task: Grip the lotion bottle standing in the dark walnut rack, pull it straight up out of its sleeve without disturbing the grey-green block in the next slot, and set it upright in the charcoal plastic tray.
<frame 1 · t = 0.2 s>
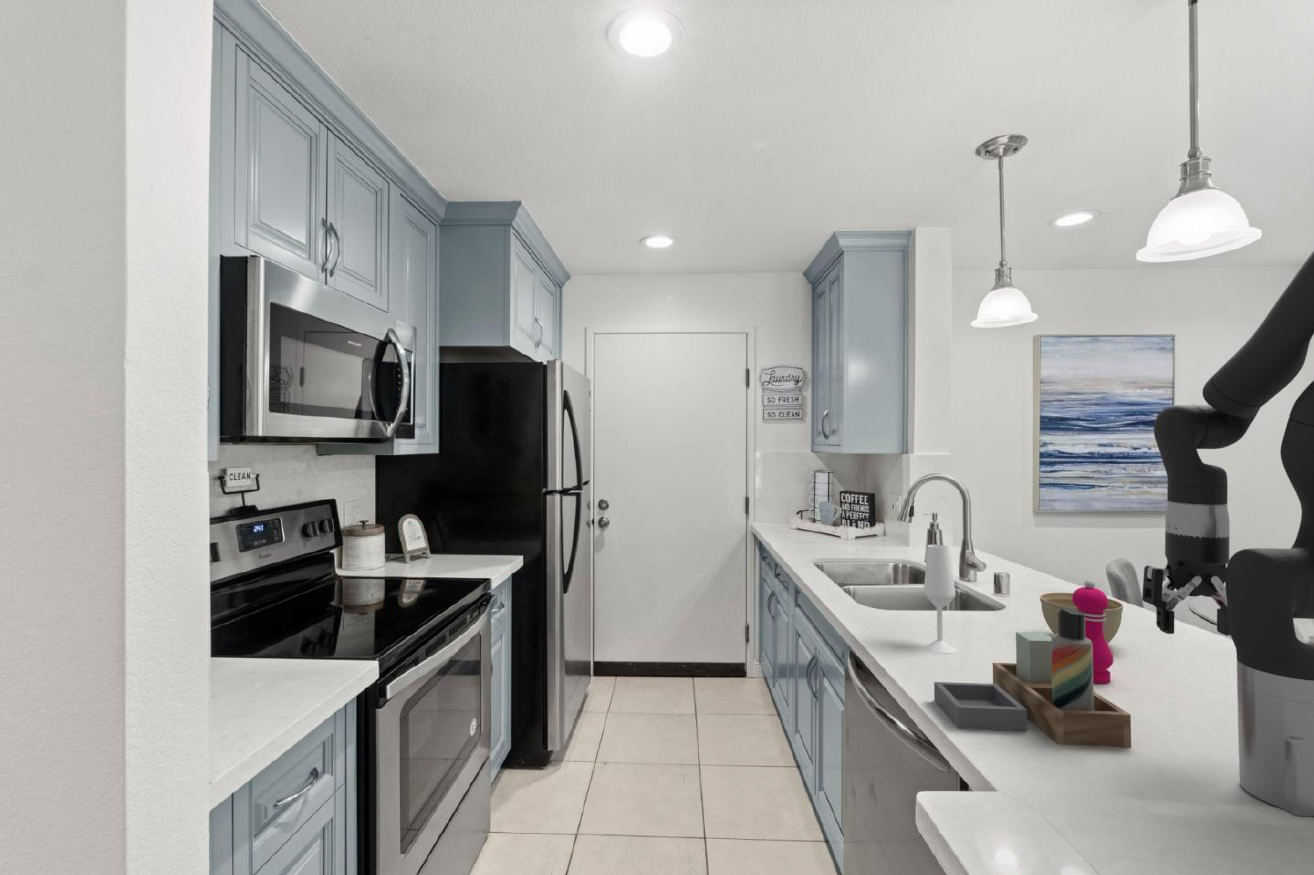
hand: (1195, 633, 94), 18 cm above the countertop, tool pointing down, fingers open, 8 cm apart
grey-green block: (1037, 701, 111), resting in rack
champagne flute: (940, 649, 140), on the countertop
rack: (1054, 714, 105), on the countertop
tray: (978, 715, 105), on the countertop
lotion bottle: (1073, 730, 100), resting in rack
planter bowl: (1080, 646, 142), on the countertop
pepper mill: (1091, 678, 122), on the countertop
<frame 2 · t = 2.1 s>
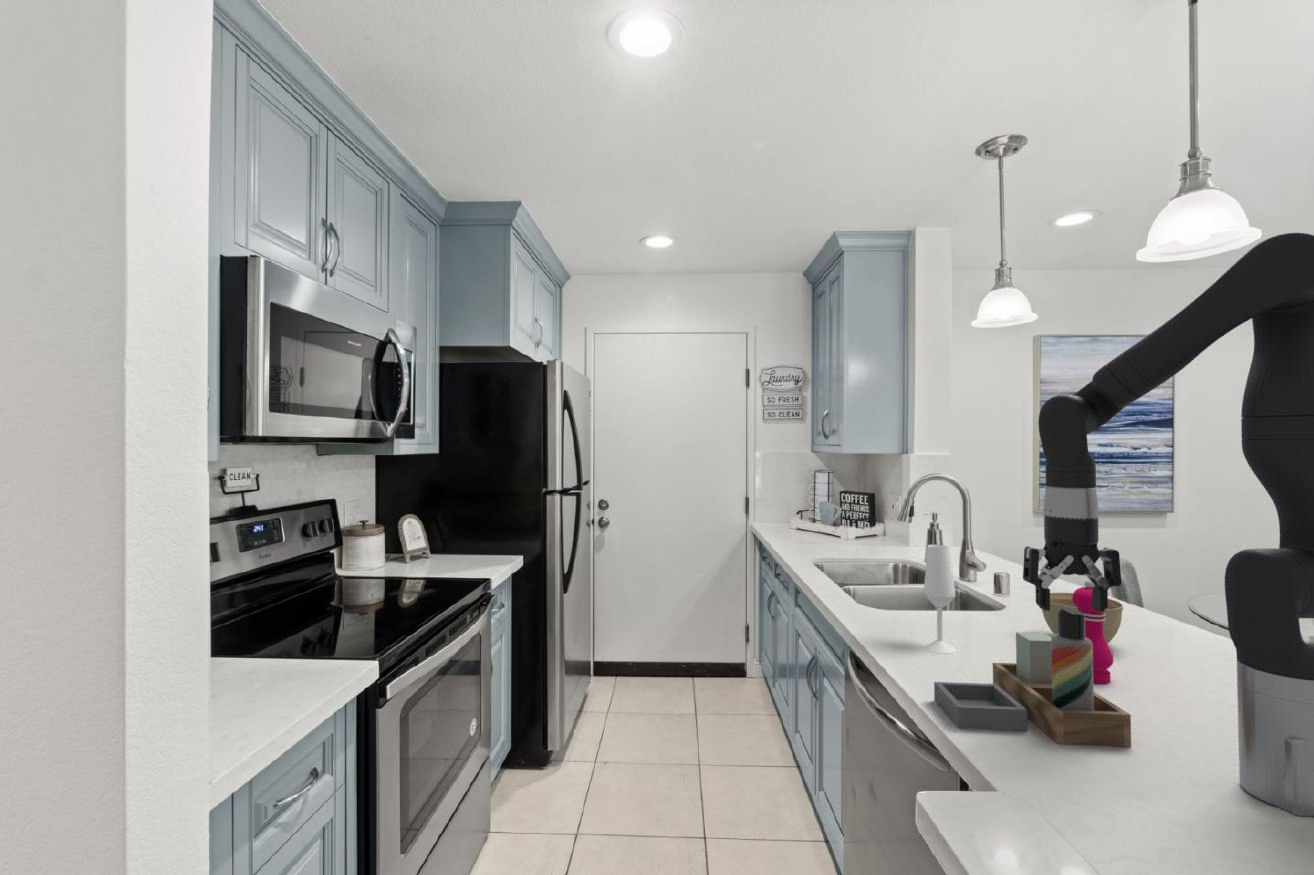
hand: (1071, 610, 100), 20 cm above the countertop, tool pointing down, fingers open, 8 cm apart
nothing on the countertop moved.
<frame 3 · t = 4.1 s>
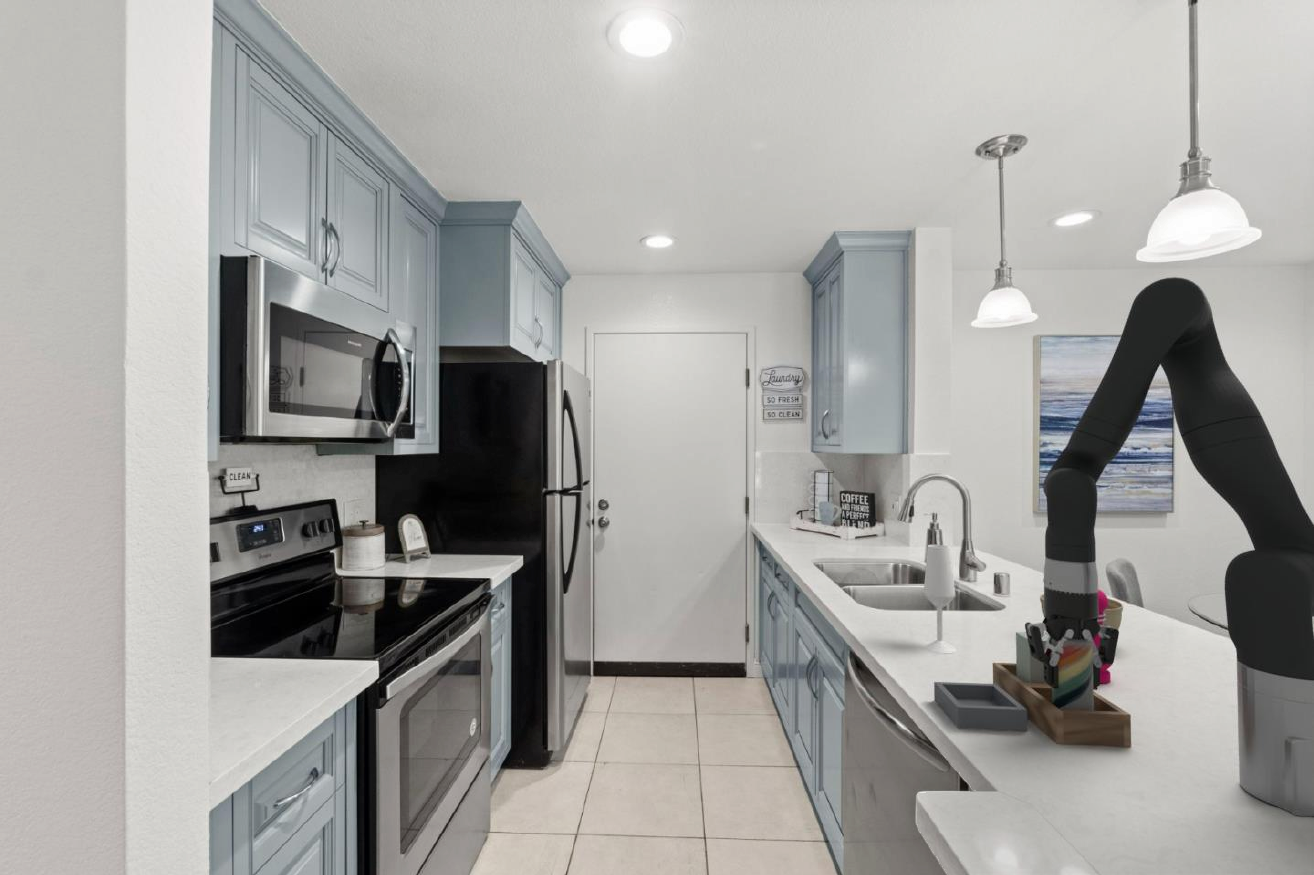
hand: (1071, 686, 100), 7 cm above the countertop, tool pointing down, fingers closed on lotion bottle, 5 cm apart
lotion bottle: (1073, 730, 100), resting in rack, touching gripper
everything else where it was.
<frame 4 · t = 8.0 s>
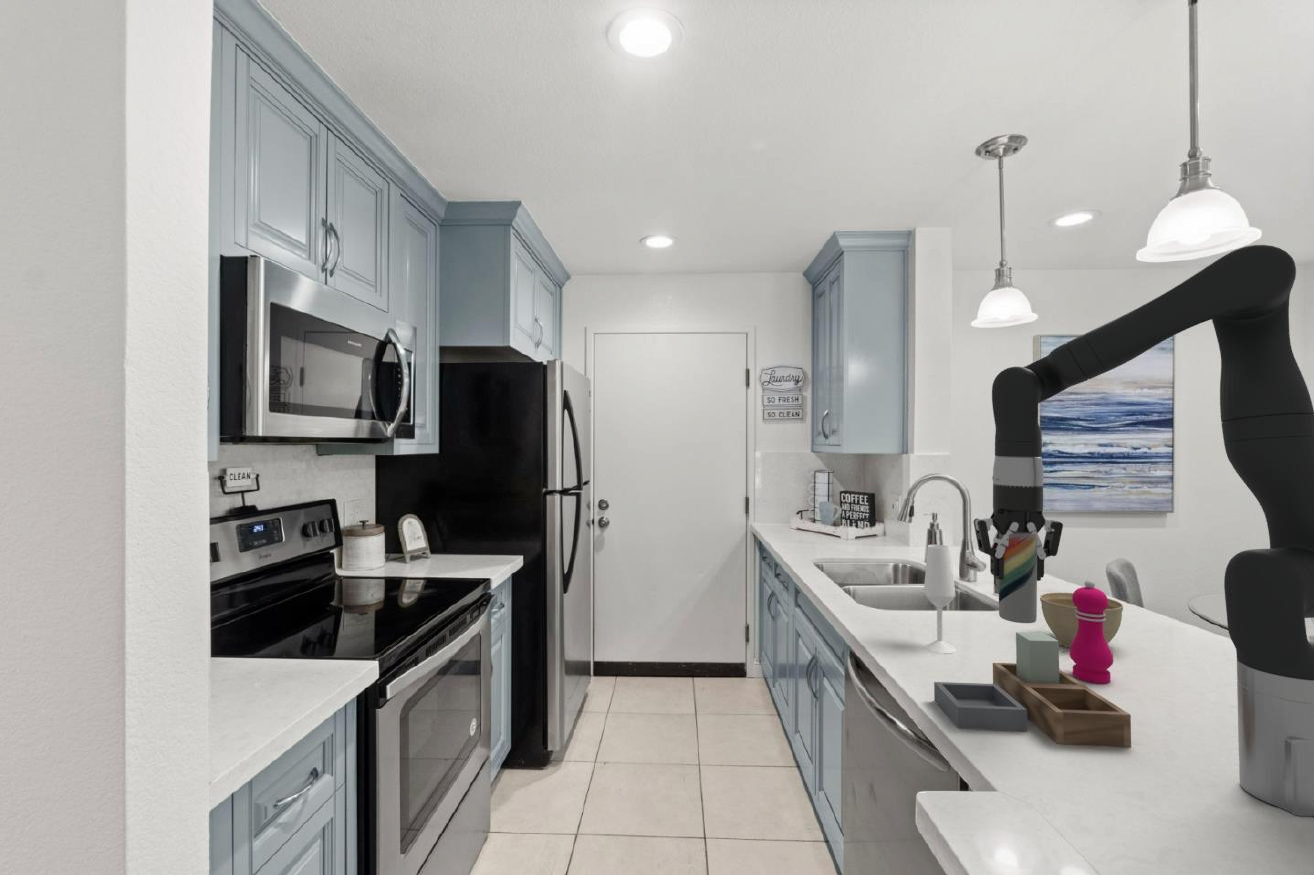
hand: (1017, 578, 104), 24 cm above the countertop, tool pointing down, fingers closed on lotion bottle, 5 cm apart
lotion bottle: (1017, 619, 104), point 17 cm above the countertop, touching gripper
everything else where it was.
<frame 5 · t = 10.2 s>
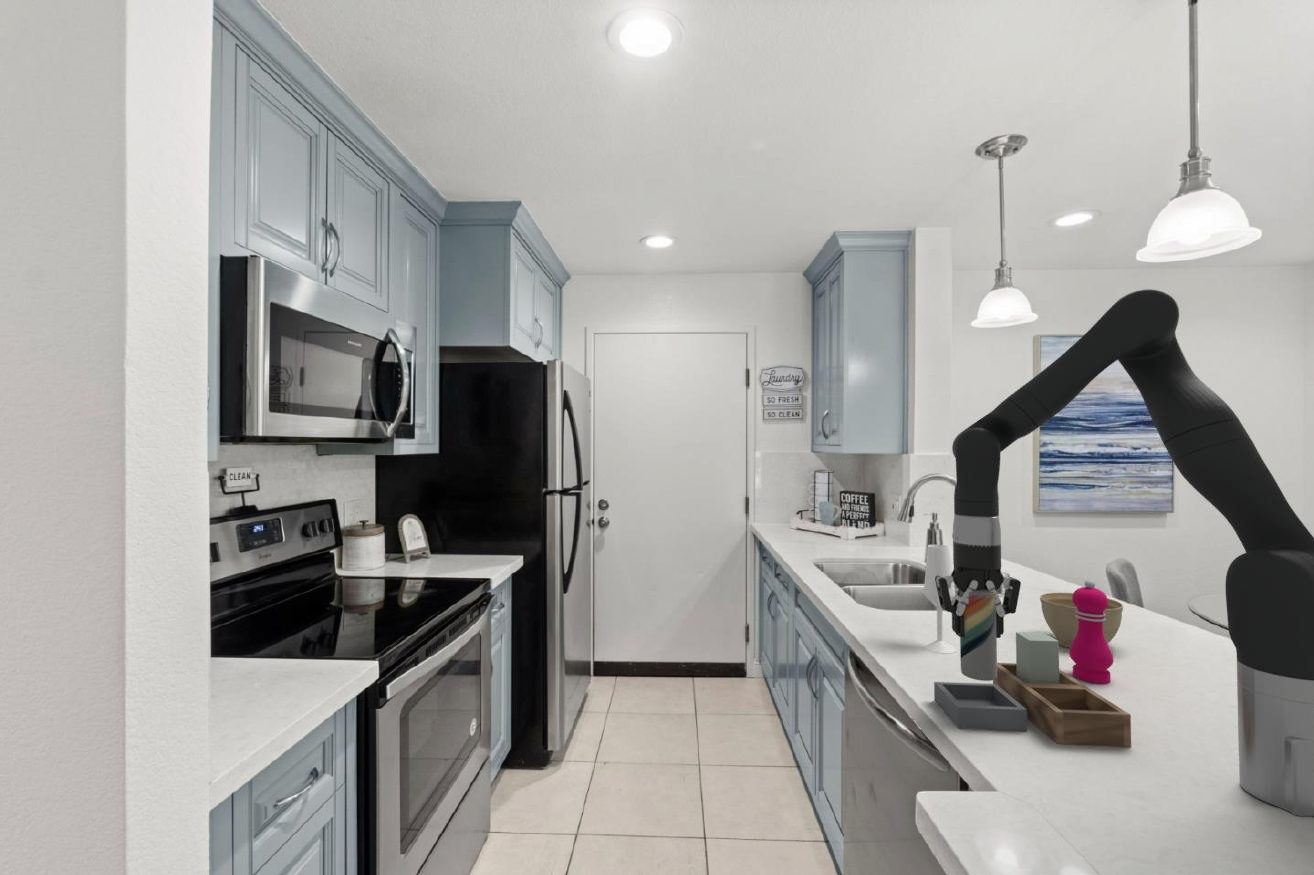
hand: (977, 635, 105), 14 cm above the countertop, tool pointing down, fingers closed on lotion bottle, 5 cm apart
lotion bottle: (978, 676, 105), point 7 cm above the countertop, touching gripper
everything else where it was.
when the fingers open (9 cm above the countertop, at t = 12.0 s): lotion bottle drops 1 cm, resting on tray.
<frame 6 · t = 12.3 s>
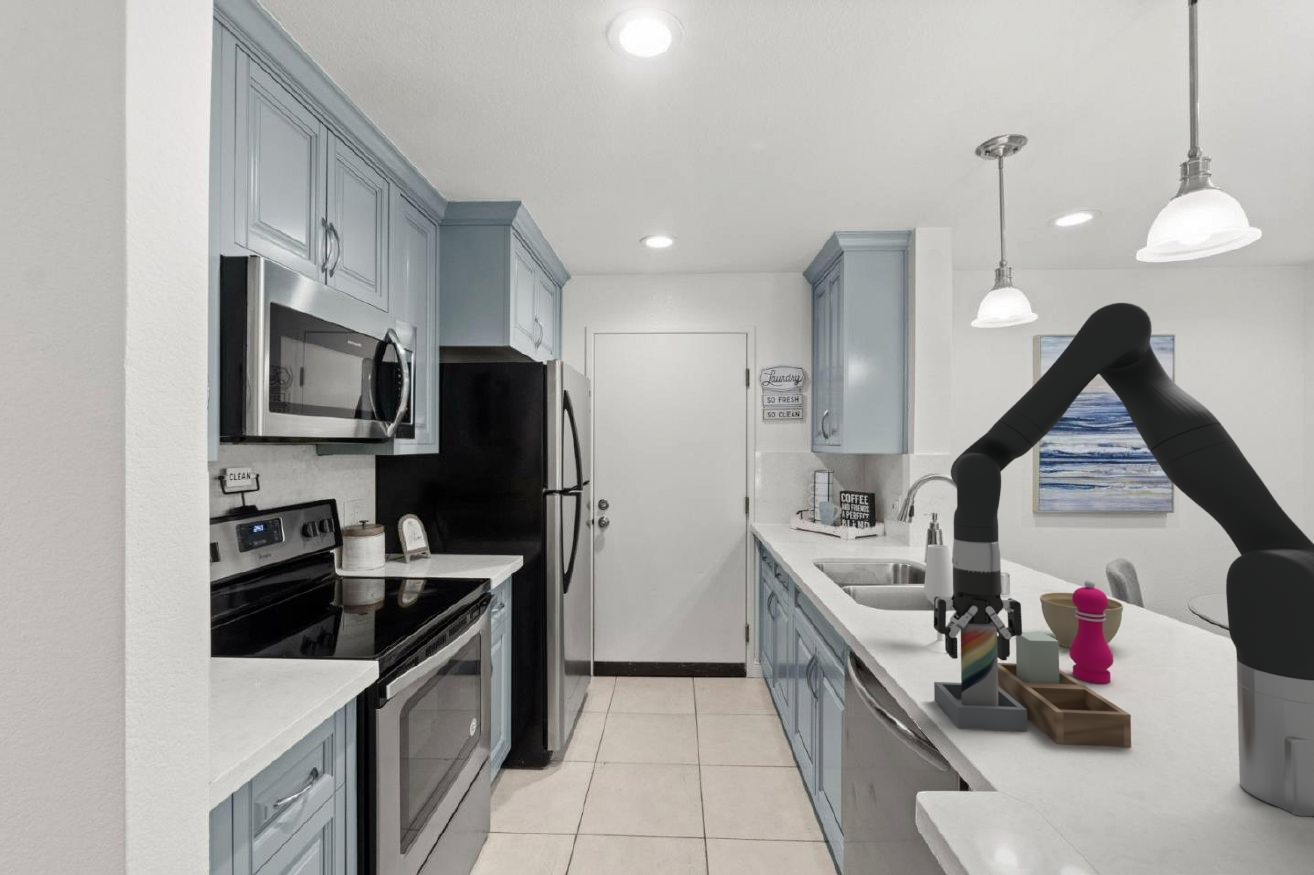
hand: (977, 658, 105), 10 cm above the countertop, tool pointing down, fingers open, 8 cm apart
lotion bottle: (979, 710, 105), point 1 cm above the countertop, touching tray
everything else where it was.
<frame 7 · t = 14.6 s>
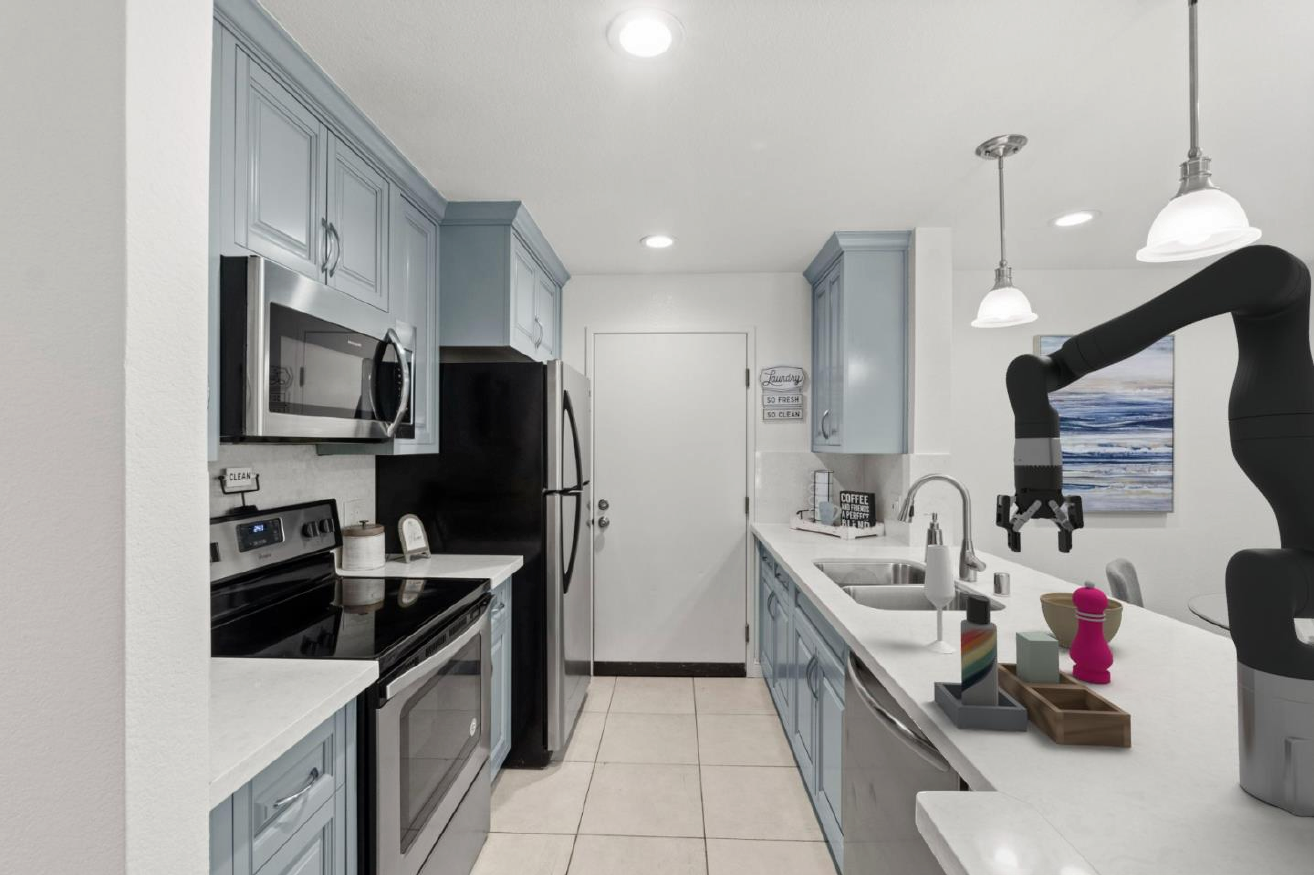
hand: (1040, 552, 109), 28 cm above the countertop, tool pointing down, fingers open, 8 cm apart
nothing on the countertop moved.
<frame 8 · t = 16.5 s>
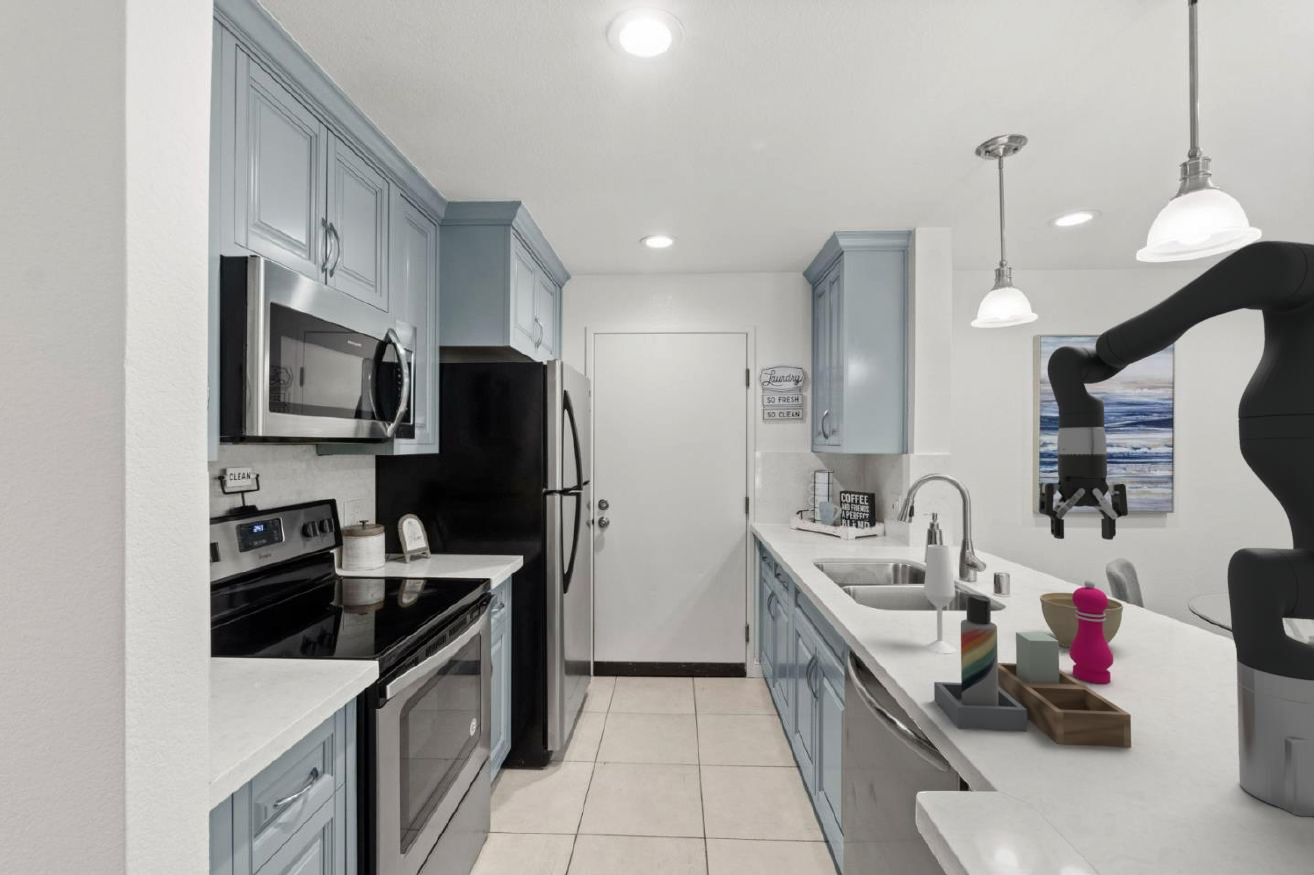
hand: (1083, 538, 111), 30 cm above the countertop, tool pointing down, fingers open, 8 cm apart
nothing on the countertop moved.
at the end: lotion bottle 0.3 cm off-centre on the tray, point 0.8 cm above the tray's base; lotion bottle tilted 0°; grey-green block moved 0.0 cm from its start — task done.
